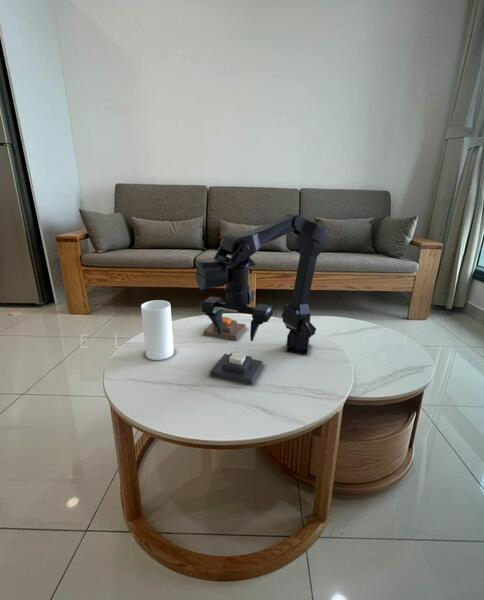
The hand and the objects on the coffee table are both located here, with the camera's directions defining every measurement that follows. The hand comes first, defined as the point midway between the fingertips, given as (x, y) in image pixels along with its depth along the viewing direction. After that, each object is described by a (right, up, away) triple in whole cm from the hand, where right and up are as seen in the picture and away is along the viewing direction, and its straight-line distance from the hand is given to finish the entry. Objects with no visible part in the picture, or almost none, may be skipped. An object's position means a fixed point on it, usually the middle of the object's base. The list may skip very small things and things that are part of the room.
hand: (236, 337), depth 89 cm
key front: (0, -7, +2) cm, 7 cm away
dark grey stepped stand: (0, -10, +3) cm, 10 cm away
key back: (-5, +2, +25) cm, 26 cm away
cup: (-24, -6, +11) cm, 27 cm away
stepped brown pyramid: (-6, -1, +26) cm, 27 cm away
